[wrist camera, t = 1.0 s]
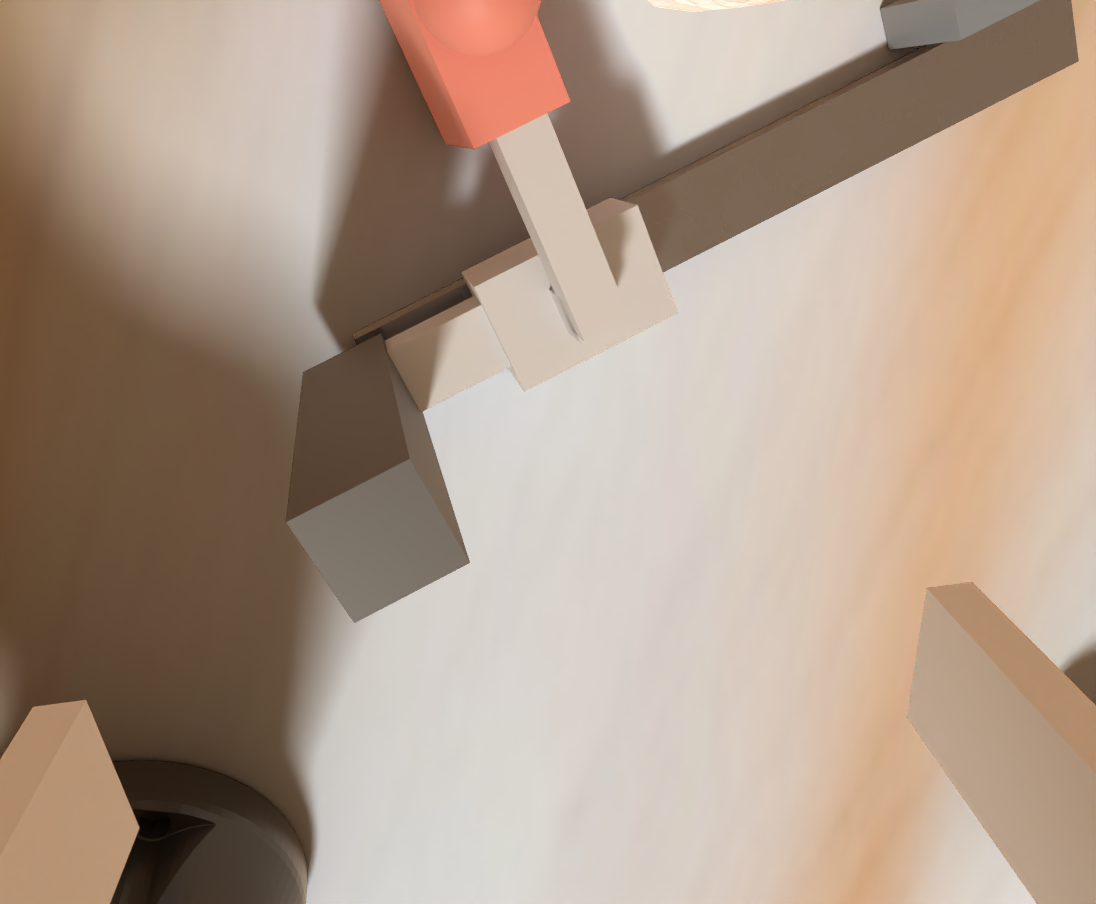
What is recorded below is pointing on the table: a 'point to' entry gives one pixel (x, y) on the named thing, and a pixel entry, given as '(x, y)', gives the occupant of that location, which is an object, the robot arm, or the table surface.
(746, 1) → the white cup
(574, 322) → the striker slider
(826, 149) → the rail
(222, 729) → the table surface
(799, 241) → the table surface
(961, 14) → the frame
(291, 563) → the table surface
